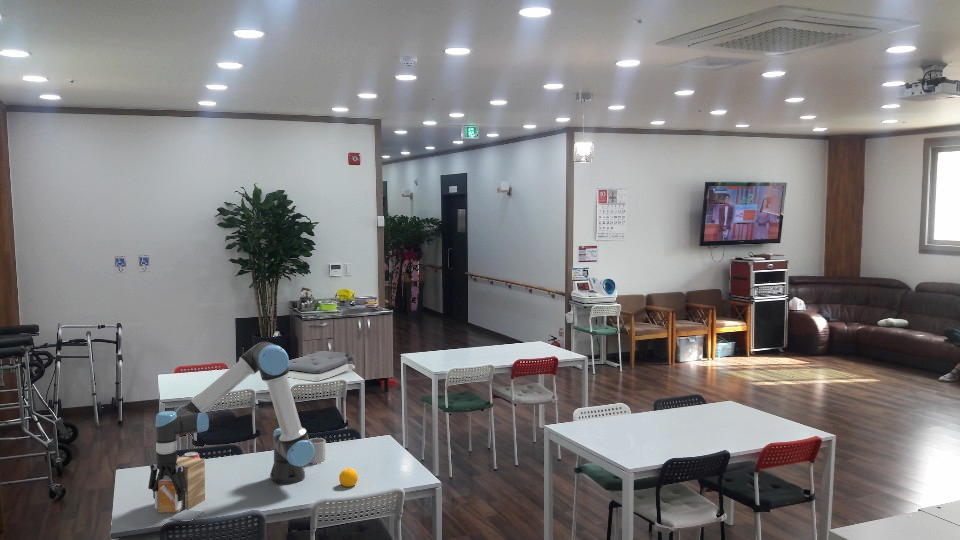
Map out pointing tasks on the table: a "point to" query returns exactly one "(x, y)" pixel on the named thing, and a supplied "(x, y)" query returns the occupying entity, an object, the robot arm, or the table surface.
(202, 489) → the dispenser
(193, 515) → the pad
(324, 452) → the mug
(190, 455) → the soda can
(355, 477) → the yellow ball
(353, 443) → the table surface
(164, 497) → the small box
